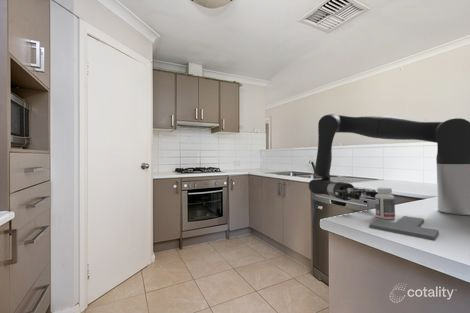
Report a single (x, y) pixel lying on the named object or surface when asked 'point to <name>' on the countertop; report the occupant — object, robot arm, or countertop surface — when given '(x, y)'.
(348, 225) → the countertop surface
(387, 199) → the pill bottle
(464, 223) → the countertop surface
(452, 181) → the robot arm
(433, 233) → the t mat
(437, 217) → the countertop surface
